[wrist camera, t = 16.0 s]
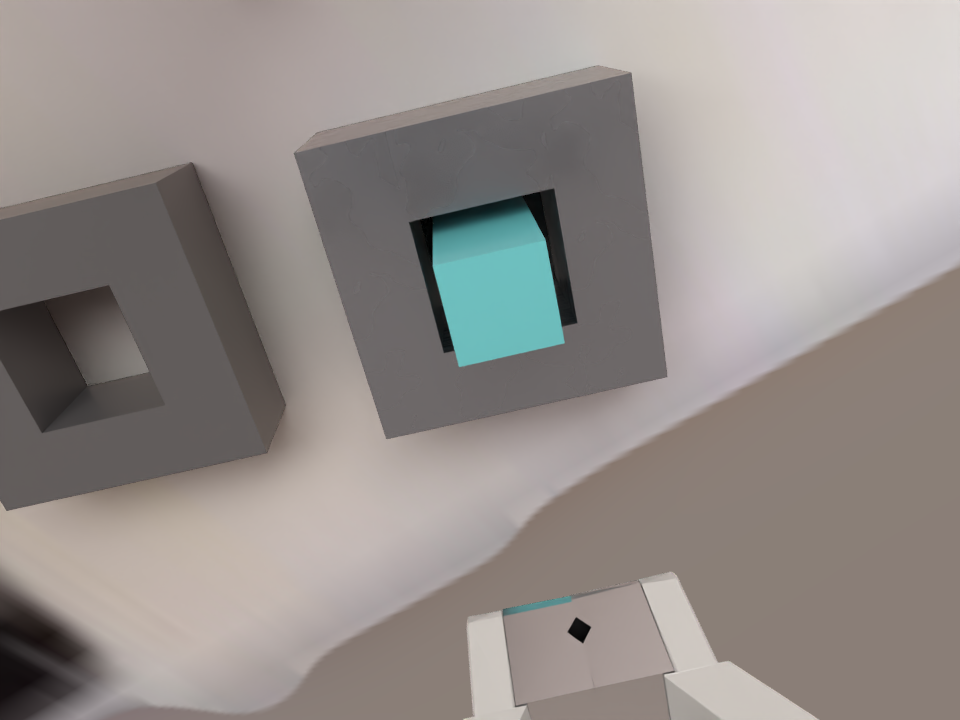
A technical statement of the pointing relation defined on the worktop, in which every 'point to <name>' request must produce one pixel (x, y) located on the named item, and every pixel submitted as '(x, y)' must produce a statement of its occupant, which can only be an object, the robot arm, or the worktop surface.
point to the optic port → (477, 181)
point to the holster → (155, 327)
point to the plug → (495, 281)
